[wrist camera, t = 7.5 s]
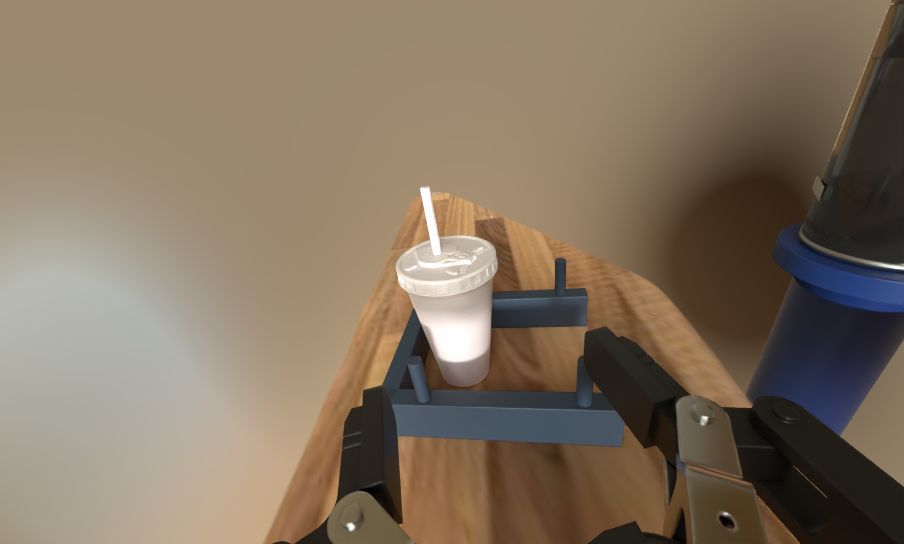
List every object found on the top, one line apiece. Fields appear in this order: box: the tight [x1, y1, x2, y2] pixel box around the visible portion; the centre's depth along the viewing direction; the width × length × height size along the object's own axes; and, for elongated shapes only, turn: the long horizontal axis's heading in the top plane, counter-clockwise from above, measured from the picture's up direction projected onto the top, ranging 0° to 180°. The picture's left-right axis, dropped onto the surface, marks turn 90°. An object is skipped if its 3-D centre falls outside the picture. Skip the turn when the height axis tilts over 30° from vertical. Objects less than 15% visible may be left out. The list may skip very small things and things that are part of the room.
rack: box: [383, 258, 625, 446], centre depth 24 cm, size 14×12×6 cm
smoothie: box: [396, 186, 498, 387], centre depth 22 cm, size 6×6×14 cm
